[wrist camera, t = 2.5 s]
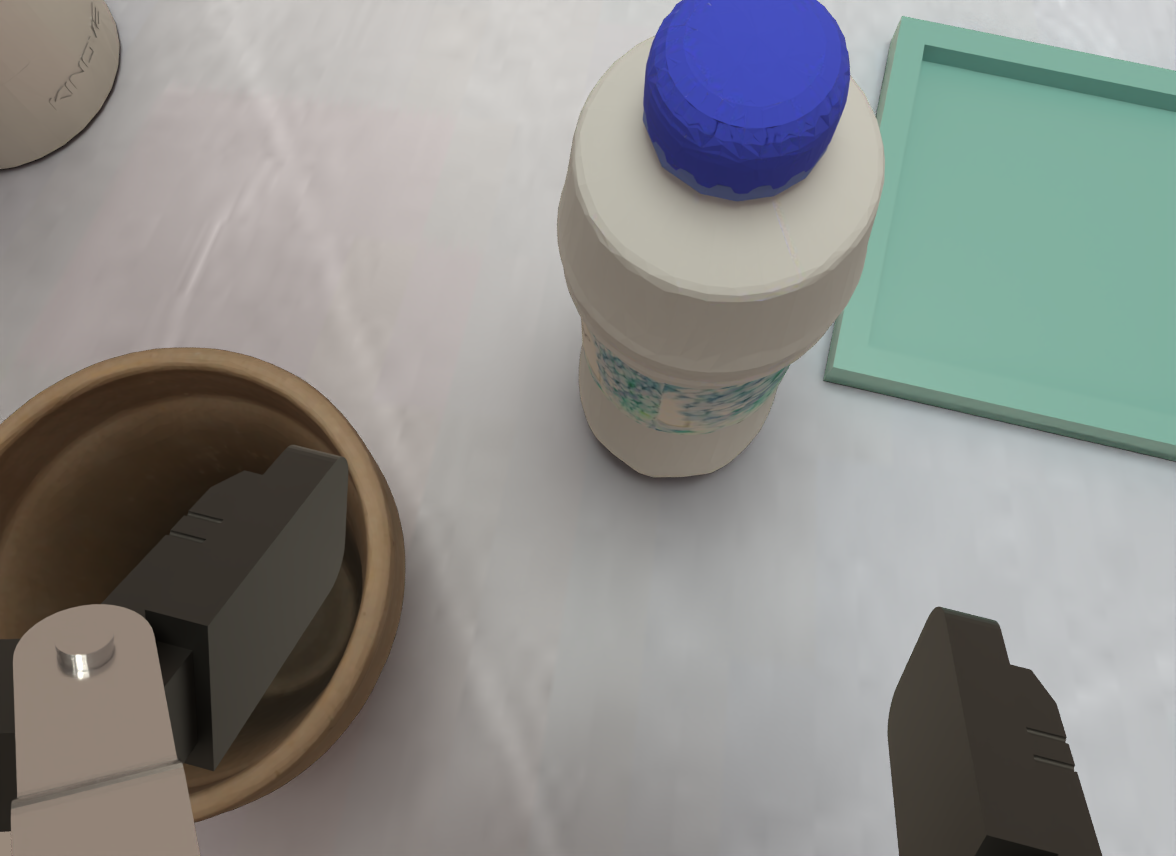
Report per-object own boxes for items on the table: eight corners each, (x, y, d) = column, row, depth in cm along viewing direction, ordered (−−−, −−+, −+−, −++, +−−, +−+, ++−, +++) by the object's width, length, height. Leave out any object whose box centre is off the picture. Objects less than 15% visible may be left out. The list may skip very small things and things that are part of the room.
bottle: (609, 287, 36) (615, -183, 17) (789, 343, 35) (1016, -80, 16) (548, 460, 34) (477, 165, 15) (736, 522, 34) (916, 294, 14)
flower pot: (154, 420, 35) (-20, 316, 25) (475, 458, 34) (425, 366, 25) (71, 766, 32) (-161, 799, 22) (421, 812, 32) (340, 866, 22)
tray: (823, 380, 35) (833, 367, 33) (890, 41, 38) (902, 16, 37) (1231, 474, 34) (1259, 464, 32) (1263, 117, 37) (1290, 93, 36)
